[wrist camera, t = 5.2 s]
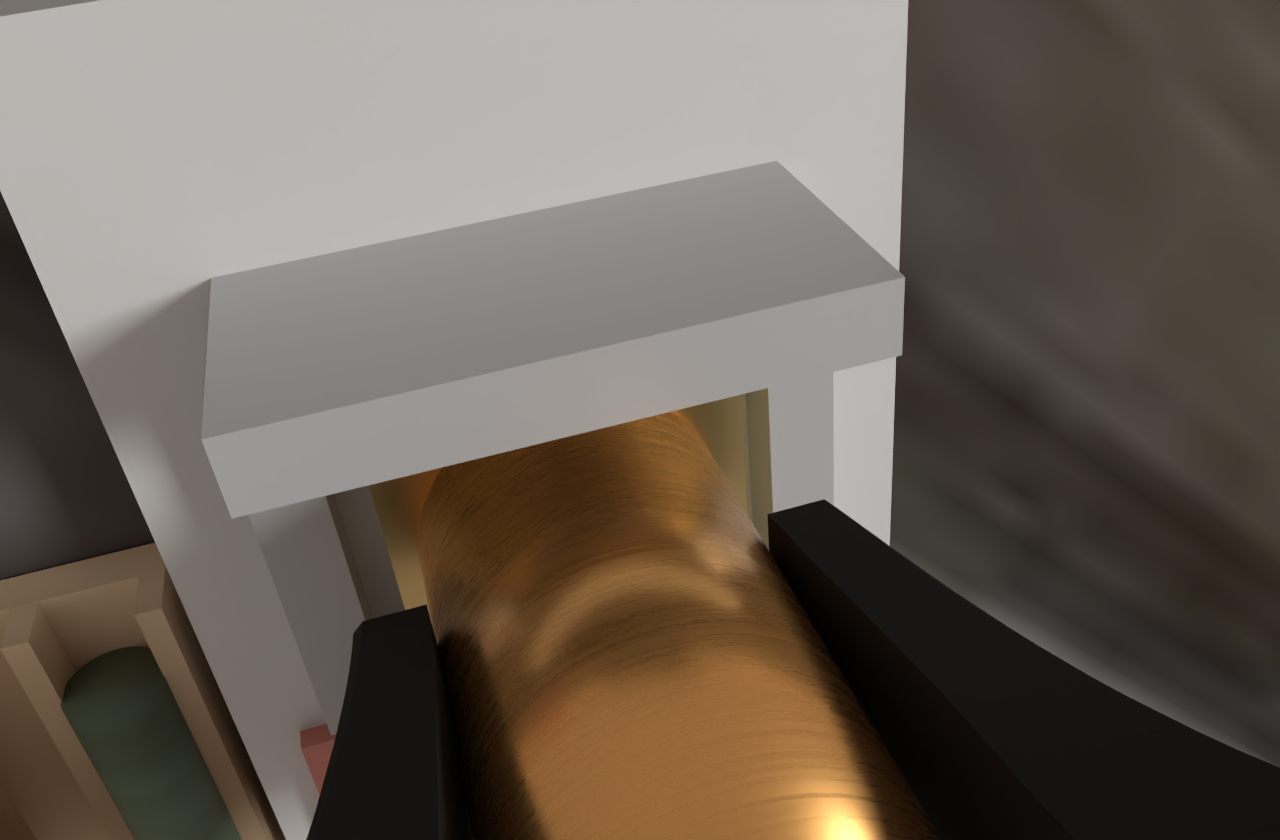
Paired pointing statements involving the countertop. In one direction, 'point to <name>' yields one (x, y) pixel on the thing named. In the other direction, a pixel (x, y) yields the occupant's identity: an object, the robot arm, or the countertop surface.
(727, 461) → the pad
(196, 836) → the trough
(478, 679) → the cell
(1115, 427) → the countertop surface
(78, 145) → the white compartment tray
